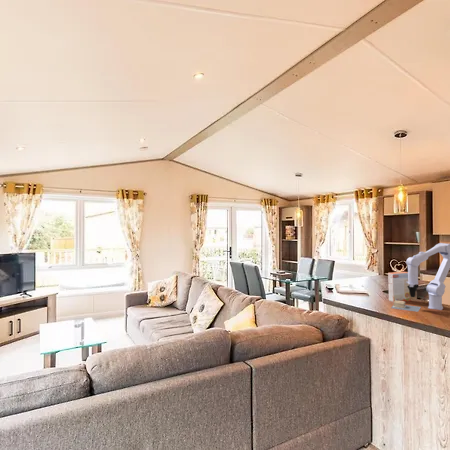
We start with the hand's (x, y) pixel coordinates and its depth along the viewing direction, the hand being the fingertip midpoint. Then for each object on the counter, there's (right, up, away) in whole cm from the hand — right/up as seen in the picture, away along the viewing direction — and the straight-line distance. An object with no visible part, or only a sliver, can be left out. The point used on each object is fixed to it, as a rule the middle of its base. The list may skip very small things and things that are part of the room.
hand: (413, 296), depth 219 cm
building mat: (-3, -9, +4) cm, 10 cm away
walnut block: (0, -2, 0) cm, 2 cm away
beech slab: (-6, -8, +7) cm, 12 cm away
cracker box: (+3, -9, +23) cm, 25 cm away
